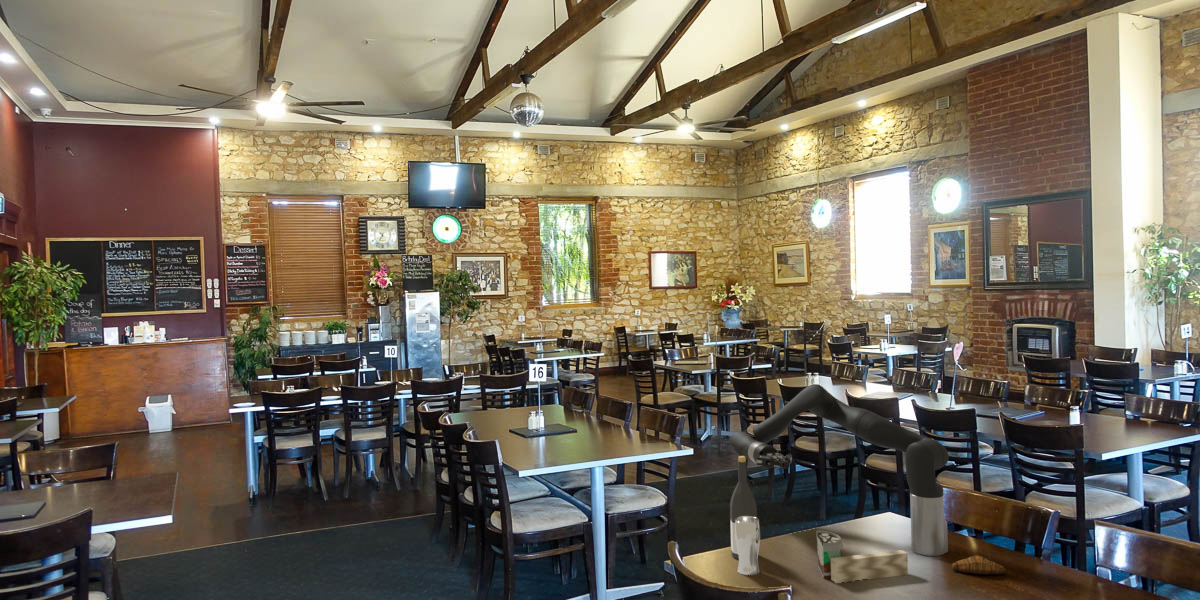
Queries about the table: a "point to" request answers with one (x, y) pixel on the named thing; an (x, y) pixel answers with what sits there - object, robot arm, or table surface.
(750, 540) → the beer glass
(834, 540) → the food container
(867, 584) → the table surface
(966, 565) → the croissant
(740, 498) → the wine bottle
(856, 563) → the maple board
